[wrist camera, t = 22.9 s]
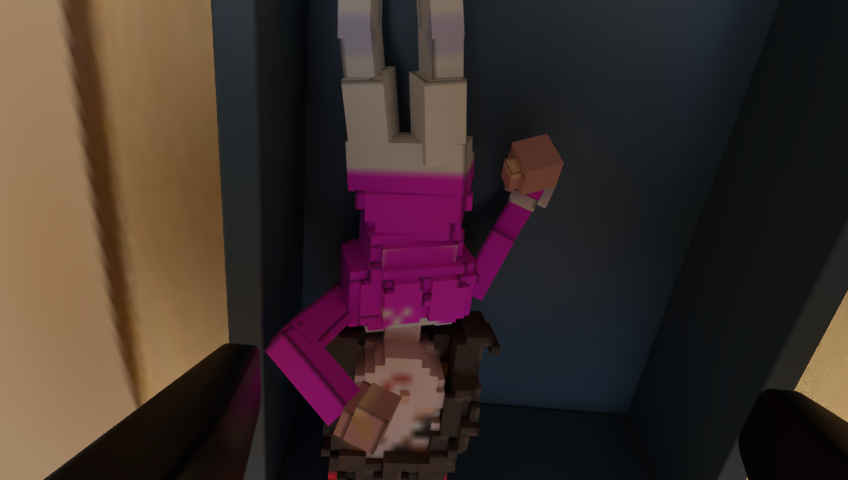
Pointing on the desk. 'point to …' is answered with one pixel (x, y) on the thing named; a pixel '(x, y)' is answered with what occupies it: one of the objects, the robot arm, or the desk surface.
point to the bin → (567, 218)
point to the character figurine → (407, 261)
